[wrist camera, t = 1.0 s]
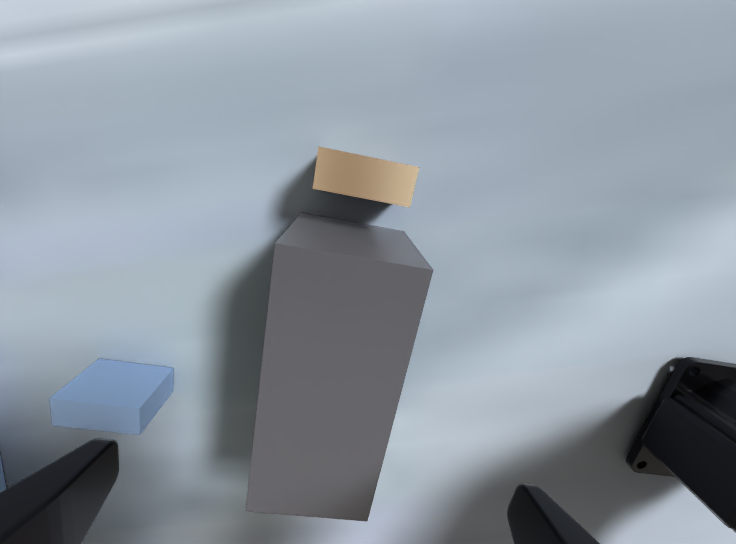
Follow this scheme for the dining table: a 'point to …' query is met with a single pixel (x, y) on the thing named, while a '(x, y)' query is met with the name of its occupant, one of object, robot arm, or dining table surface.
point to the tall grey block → (333, 365)
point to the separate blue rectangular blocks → (110, 398)
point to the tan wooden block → (364, 177)
